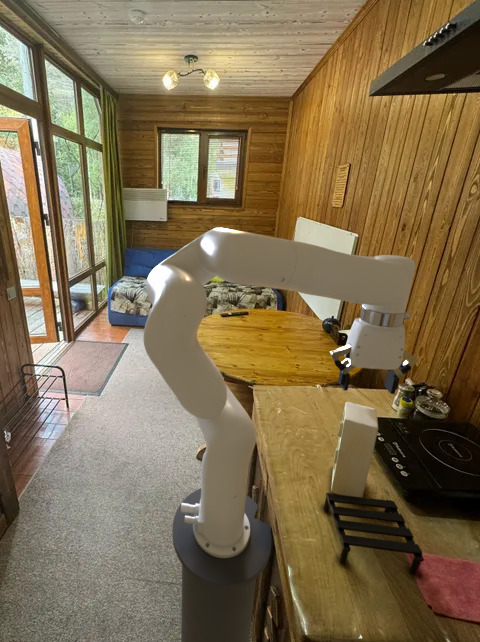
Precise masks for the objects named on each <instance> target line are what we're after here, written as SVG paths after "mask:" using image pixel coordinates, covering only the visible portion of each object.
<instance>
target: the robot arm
mask: <svg viewBox="0 0 480 642" xmlns="http://www.w3.org/2000/svg"><path fill="white" fill-rule="evenodd" d="M415 271H416V262H415V260H414V259H413V258H410V257H408V256H402V255H396V254H395V255H394V254H379V255H375V256H368V255H367V256H366V255H358V254H349V253H345V252H340V251H337V250H333V249H330V248H327V247H323V246H320V245H316V244H312V243H307V242H302V241H298V240H297V241H296V240H291V239H286V238H281V237H275V236H270V235H265V234H259V233H254V232H248V231H243V230H242V231H241V230H236V229H230V228H224V227H215V228H213V229H210V230H208V231H206V232H204V233H203V234H201V235H199V236H198V237H197V238H195V239H194V240H192V241H190V242H189V243H188V244H186V245H185V246H183V247H182V248H180V249H179V250H177V251H176V252H174V253H173V254H172V255H170V256H168V257H167V258H166V259H164V260H163V261H161V262H160V263H158V265H156V266H155V267H154V268H153V269H152V270H151V271H150V273H149V274H148V276H147V279H146V282H145V291H146V295H147V297H148V300H149V302H150V303H151V306H152V307H151V309H150V312H149V313H148V316H147V319H146V321H145V325H144V328H143V346H144V350H145V352H146V355H147V357H148V358H149V360H150V361H151V363H152V364H153V365H154V367H155V368H156V370H157V371H158V373H159V374H160V375H161V377H162V379H163V380H164V382H165V383H166V384H167V386H168V387H169V389H170V390H171V391H172V393H173V395H174V396H175V397H176V399H177V401H178V402H179V404H180V405H181V407H182V408H183V409H184V410H185V411H186V412H187V413H189V414H190V415H192V416H194V417H195V419H196V421H197V424H198V425H199V429H200V430H201V433H202V436H203V438H204V442H205V451H204V453H203V455H202V460H201V483H200V485H201V486H200V487H201V499H200V504H197V503H196V504H195V505H190V504H186V503H182V502H181V503H182V504H181V503H180V504H181V513H185V514H188V513H189V514H195V515H194V517H191V516H185V520H184V523H188V524H190V523H191V524H193V532H194V536H195V539H196V540H197V542H198V544H199V545H200V547H201V548H202V549H203V550H204V551H206V552H207V553H209V554H210V555H212V556H215V557H218V558H230V557H234V556H236V555H238V554H240V553H241V552H242V551H243V550H244V549H245V547H246V546H247V544H248V542H249V538H250V523H249V520H248V518H247V516H246V514H245V503H246V495H247V490H248V479H249V470H250V464H251V463H250V462H251V458H252V454H253V452H254V449H255V446H256V443H257V431H256V427H255V424H254V422H253V421H252V418H251V417H250V415H249V414H248V412H247V411H246V409H245V408H244V407H243V405H242V404H241V403H240V401H239V400H238V398H236V396H235V395H234V393H233V391H232V390H231V389H230V387H229V386H228V384H227V383H226V381H225V378H224V376H223V374H222V373H221V371H220V369H219V368H218V366H217V365H216V364H215V362H214V360H213V359H212V358H211V357H210V356H209V354H208V353H207V352H206V351H205V349H204V348H203V346H202V344H201V342H200V341H199V338H198V331H199V327H200V325H201V323H202V321H203V319H204V318H205V314H206V312H207V307H208V295H207V292H206V289H205V287H204V286H205V285H206V284H208V283H209V282H211V281H212V280H213V279H215V278H216V277H217V278H218V279H220V280H222V281H224V282H227V283H230V284H235V285H241V286H242V285H244V286H251V287H259V288H269V289H277V290H283V291H291V292H296V293H299V294H300V293H301V294H303V295H309V296H316V297H322V298H328V299H332V300H337V301H342V302H349V303H354V304H359V305H361V310H360V315H359V317H356V318H355V319H354V320H353V323H352V324H351V327H350V330H349V333H348V336H347V340H346V343H345V345H344V346H341V347H338V348H335V349H333V350H331V351H329V355H330V358H331V360H332V362H333V364H334V365H335V366H336V368H337V369H338V370H339V373H338V380H337V382H338V385H340V387H341V388H342V390H343V391H346V392H347V391H348V390H349V385H350V380H351V374H350V372H352V370H354V369H355V368H359V369H370V370H371V369H372V370H387V373H386V377H385V382H384V388H385V389H386V390H387V392H389V394H390V395H395V394H396V390H397V389H398V387H399V384H400V383H399V382H400V379H402V378H404V375H405V374H407V373H408V372H410V371H411V370H412V368H413V367H414V366H415V365H416V364H417V363H418V361H419V359H418V358H417V357H416V356H415V355H413V354H412V353H409V352H408V351H406V350H405V346H406V345H405V344H406V327H405V326H406V325H404V322H405V320H406V319H409V320H410V319H411V317H412V316H411V312H410V311H406V309H407V304H408V301H409V296H410V293H411V288H412V283H413V279H414V275H415ZM342 356H344V358H345V359H344V360H342V361H341V360H340V357H342ZM403 359H405V360H404V362H403Z"/></svg>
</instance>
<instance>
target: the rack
mask: <svg viewBox="0 0 480 642" xmlns="http://www.w3.org/2000/svg"><path fill="white" fill-rule="evenodd" d="M335 503H337V504H345V505H353V506H361V507H369V508H370V507H371V508H377V509H378V508H379V509H384V511H378V510H369V509H362V508H354V507H345V506H338V505H336V504H335ZM398 509H399V508H398V506H397V504H396V502H395V500H391V499H380V498H372V497H371V498H370V497H354V496H346V495H337V494H335V493H332V492H325V500H324V505H323V511H324V512H325V513H329V512H330V513H331V516H332V519H333V522H334V525H335V528H336V532H337V535H338V537H339V541H340V543H341V551H340V555H339V560H338V561H339V562H340V564H341V565H342V566H346V564H347V561H348V558H349V553H350V552H351V550H352V548H351V547H358V548H367V549H373V550H380V551H389V552H396V553H403V554H411V555H413V558H412V560H411V564H410V567H409V572H410V573H411V574H412V575H413V576H417V575H418V574H419V570H420V567H421V565H422V563H424V561H425V558H424V556H423V551H422V549H421V547H420V546H419V544H418V543H416V542H415V540H414V535H413V533H412V531H411V529H410V528H407V525H406V519H405V518H404V517H403V515H402V514H401V513H399V511H398ZM340 516H342V517H349V518H356V519H365V520H372V521H381V522H388V523H395V524H396V525H397V526H391V525H385V524H384V525H383V524H378V523H377V524H376V523H368V522H361V521H352V520H345V519H341V517H340ZM345 531H352V532H358V533H366V534H367V533H368V534H374V535H382V536H391V537H397V538H404V540H405V541H404V542H402V541H395V540H388V539H381V538H373V537H365V536H358V535H357V536H356V535H351V534H346V532H345Z"/></svg>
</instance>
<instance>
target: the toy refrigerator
mask: <svg viewBox="0 0 480 642" xmlns="http://www.w3.org/2000/svg"><path fill="white" fill-rule="evenodd" d="M377 411H378V410H377V408H374V407H371V406H366V405H363V404H359V403H355V402H351V401H345V404H344V409H343V414H342V420H340V421H339V425H338V430H337V437H338V441H337V446H336V448H335V452H334V457H333V468H332V476H331V489H330V493H332V494H337V495H346V496H354V497H363V496H364V493H365V488H366V484H367V480H368V476H369V471H370V468H371V462H372V459H373V454H374V450H375V446H376V440H377V437H378V432H379V421H378V412H377ZM363 498H364V497H363Z"/></svg>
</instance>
